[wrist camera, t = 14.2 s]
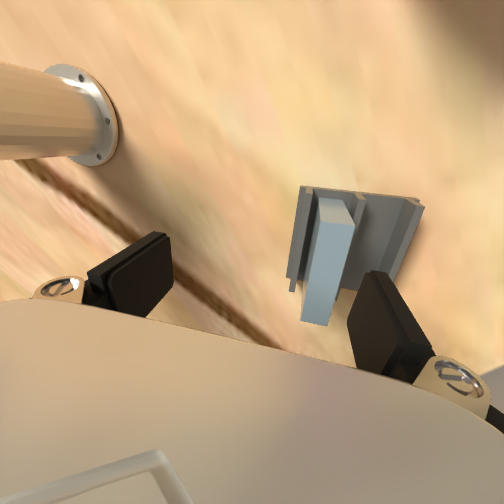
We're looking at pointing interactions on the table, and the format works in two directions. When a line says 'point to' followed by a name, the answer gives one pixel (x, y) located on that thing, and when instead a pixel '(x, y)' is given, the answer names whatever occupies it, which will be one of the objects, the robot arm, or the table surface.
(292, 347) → the table surface
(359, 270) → the dish rack
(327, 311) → the pale blue upright panel
